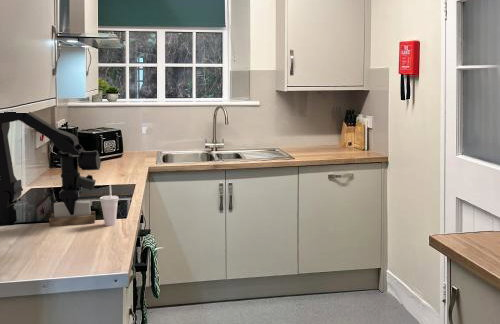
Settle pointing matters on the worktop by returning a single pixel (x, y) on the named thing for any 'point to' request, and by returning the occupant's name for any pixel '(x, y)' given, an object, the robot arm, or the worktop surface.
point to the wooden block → (72, 220)
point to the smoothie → (109, 208)
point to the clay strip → (80, 209)
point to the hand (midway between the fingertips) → (72, 213)
